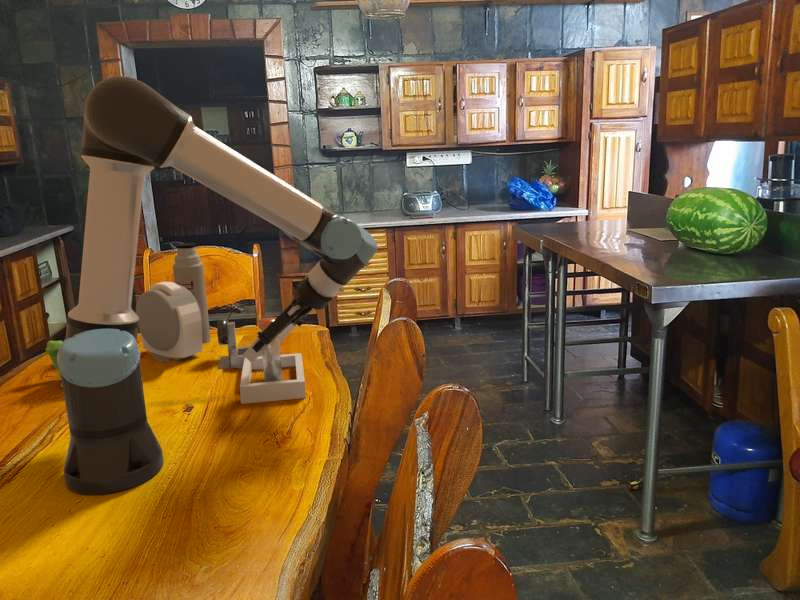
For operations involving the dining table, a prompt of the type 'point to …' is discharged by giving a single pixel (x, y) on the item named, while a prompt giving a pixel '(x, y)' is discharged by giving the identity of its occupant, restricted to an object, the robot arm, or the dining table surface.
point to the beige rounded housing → (169, 322)
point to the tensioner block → (230, 346)
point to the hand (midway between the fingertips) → (262, 348)
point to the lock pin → (271, 354)
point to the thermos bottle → (192, 281)
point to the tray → (275, 388)
